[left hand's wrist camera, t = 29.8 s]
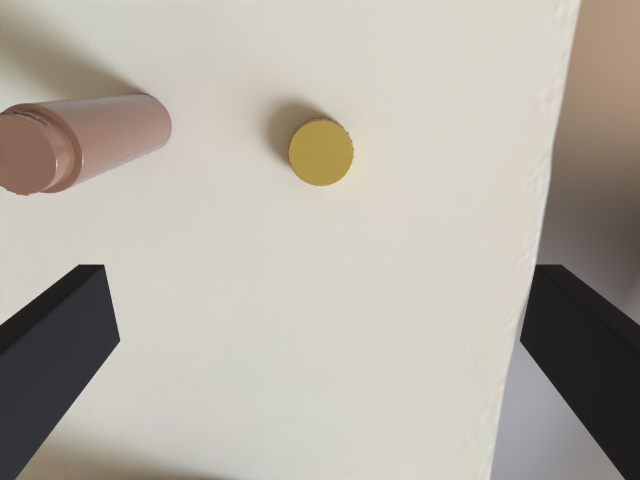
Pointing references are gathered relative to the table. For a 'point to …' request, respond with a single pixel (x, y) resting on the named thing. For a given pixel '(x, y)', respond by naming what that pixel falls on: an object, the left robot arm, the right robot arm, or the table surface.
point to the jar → (76, 139)
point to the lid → (320, 152)
